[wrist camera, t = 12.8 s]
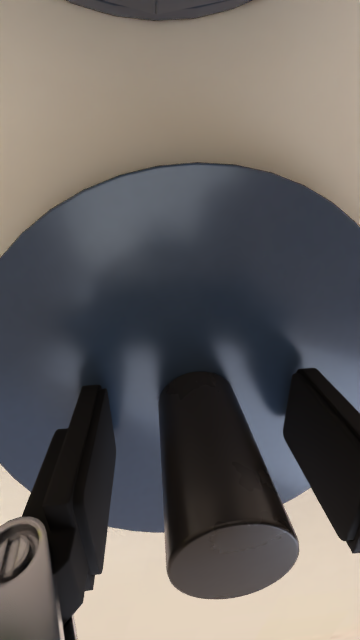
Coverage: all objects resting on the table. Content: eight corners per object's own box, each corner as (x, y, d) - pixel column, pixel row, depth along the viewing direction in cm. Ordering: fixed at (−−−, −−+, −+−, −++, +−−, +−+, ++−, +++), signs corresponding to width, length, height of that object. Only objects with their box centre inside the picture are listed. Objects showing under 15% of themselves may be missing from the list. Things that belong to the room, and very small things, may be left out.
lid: (435, 162, 9) (910, 112, 3) (335, 491, 15) (443, 662, 10) (-96, 169, 8) (-756, 107, 2) (35, 526, 14) (-39, 748, 8)
